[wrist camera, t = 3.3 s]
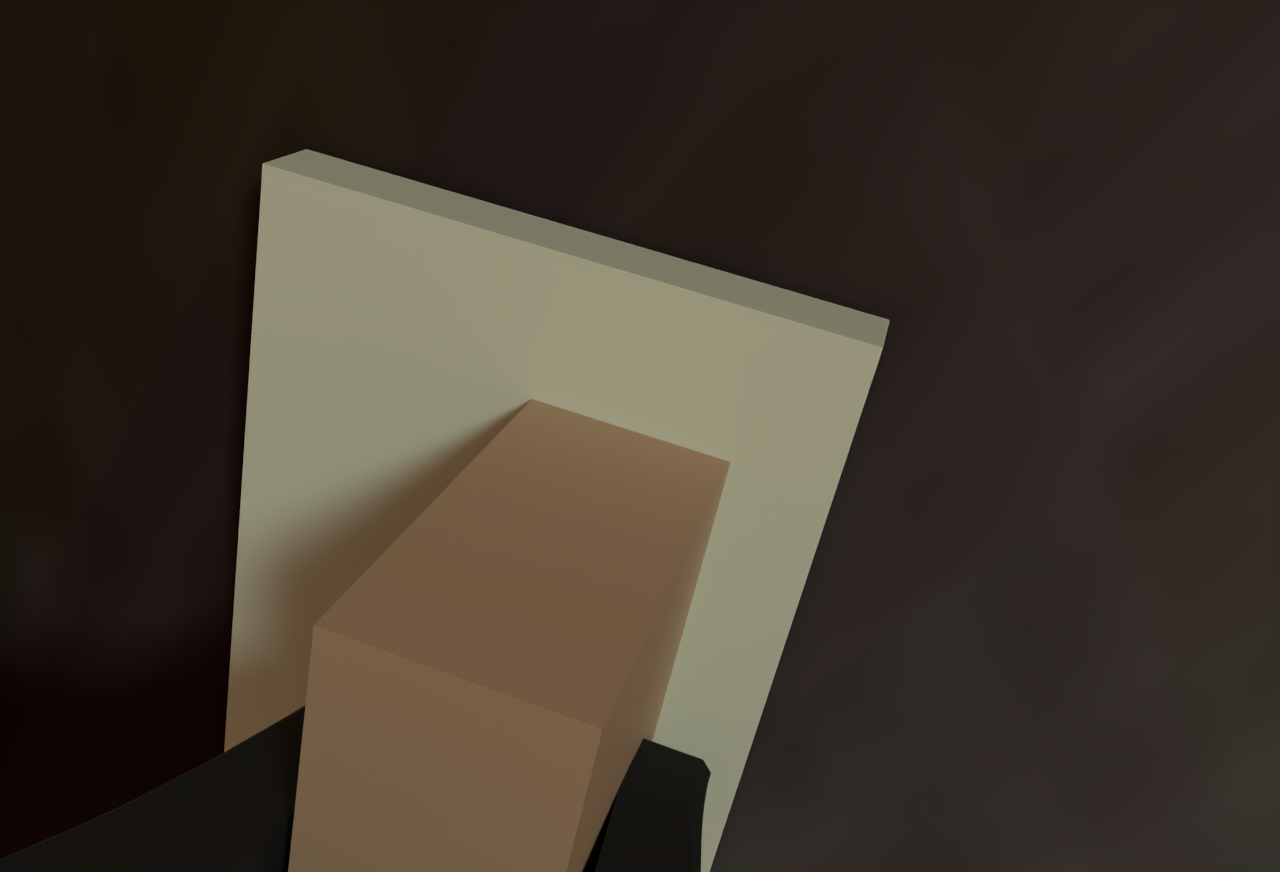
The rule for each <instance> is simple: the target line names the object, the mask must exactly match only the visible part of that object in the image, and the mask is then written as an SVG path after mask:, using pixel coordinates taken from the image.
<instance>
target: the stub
mask: <svg viewBox="0 0 1280 872" xmlns="http://www.w3.org/2000/svg"><path fill="white" fill-rule="evenodd" d="M889 321H890V320H888V319H885V318H881V317H878V316H874V315H871V314H867V313H864V312H861V311H857V310H854V309H850V308H847V307H844V306H840V305H837V304H833V303H830V302H826V301H823V300H820V299H816V298H813V297H809V296H806V295H803V294H799V293H796V292H792V291H789V290H786V289H782V288H779V287H775V286H772V285H768V284H765V283H762V282H758V281H755V280H751V279H748V278H745V277H741V276H738V275H734V274H731V273H727V272H724V271H721V270H717V269H714V268H710V267H707V266H704V265H700V264H697V263H693V262H690V261H687V260H683V259H680V258H676V257H673V256H669V255H666V254H663V253H659V252H656V251H652V250H649V249H646V248H642V247H639V246H635V245H632V244H628V243H625V242H622V241H618V240H615V239H611V238H608V237H605V236H601V235H598V234H594V233H591V232H587V231H584V230H581V229H577V228H574V227H570V226H567V225H564V224H560V223H557V222H553V221H550V220H547V219H543V218H540V217H536V216H533V215H529V214H526V213H523V212H519V211H516V210H512V209H509V208H506V207H502V206H499V205H495V204H492V203H488V202H485V201H482V200H478V199H475V198H471V197H468V196H465V195H461V194H458V193H454V192H451V191H448V190H444V189H441V188H437V187H434V186H430V185H427V184H424V183H420V182H417V181H413V180H410V179H407V178H403V177H400V176H396V175H393V174H389V173H386V172H383V171H379V170H376V169H372V168H369V167H366V166H362V165H359V164H355V163H352V162H349V161H345V160H342V159H338V158H335V157H331V156H328V155H325V154H321V153H318V152H314V151H311V150H308V149H306V150H303V151H300V152H297V153H294V154H291V155H288V156H284V157H281V158H278V159H275V160H272V161H269V162H266V163H263V167H262V183H261V198H260V213H259V229H258V244H257V259H256V274H255V290H254V305H253V320H252V335H251V351H250V366H249V381H248V396H247V412H246V427H245V442H244V458H243V473H242V488H241V503H240V519H239V534H238V549H237V564H236V580H235V595H234V610H233V625H232V641H231V656H230V671H229V686H228V702H227V717H226V732H225V748H224V752H226V751H227V750H229V749H231V748H232V747H234V746H236V745H238V744H239V743H241V742H243V741H245V740H246V739H248V738H250V737H252V736H253V735H255V734H257V733H259V732H260V731H262V730H264V729H266V728H267V727H269V726H271V725H272V724H274V723H276V722H278V721H279V720H281V719H283V718H285V717H286V716H288V715H289V714H291V713H293V712H294V711H296V710H298V709H299V708H301V707H303V706H304V705H305V715H304V724H303V734H302V743H301V753H300V763H299V772H298V782H297V791H296V801H295V811H294V820H293V830H292V839H291V849H290V859H289V868H288V872H595V869H596V865H597V862H598V858H599V855H600V851H601V848H602V845H603V841H604V838H605V834H606V831H607V827H608V824H609V820H610V817H611V814H612V810H613V807H614V803H615V800H616V796H617V793H618V790H619V787H620V785H621V783H622V780H623V778H624V776H625V774H626V772H627V770H628V768H629V766H630V764H631V762H632V760H633V758H634V756H635V754H636V752H637V750H638V748H639V746H640V744H641V742H642V740H643V738H644V739H647V740H650V741H653V742H655V743H658V744H661V745H664V746H667V747H669V748H672V749H675V750H678V751H681V752H683V753H686V754H689V755H692V756H695V757H697V758H700V759H703V760H704V762H705V763H706V765H707V767H708V768H709V770H710V772H711V775H710V778H709V782H708V786H707V792H706V798H705V804H704V813H703V825H702V842H701V872H709V871H710V868H711V865H712V862H713V859H714V856H715V853H716V850H717V847H718V844H719V841H720V838H721V835H722V832H723V829H724V826H725V823H726V820H727V817H728V814H729V811H730V808H731V805H732V802H733V799H734V796H735V793H736V790H737V787H738V784H739V781H740V778H741V775H742V772H743V769H744V766H745V763H746V760H747V757H748V754H749V751H750V748H751V745H752V742H753V739H754V736H755V732H756V729H757V726H758V723H759V720H760V717H761V714H762V711H763V708H764V705H765V702H766V699H767V696H768V693H769V690H770V687H771V684H772V681H773V678H774V675H775V672H776V669H777V666H778V663H779V660H780V657H781V654H782V651H783V648H784V645H785V642H786V639H787V636H788V633H789V630H790V627H791V624H792V621H793V618H794V615H795V612H796V609H797V606H798V603H799V600H800V597H801V594H802V591H803V588H804V585H805V582H806V579H807V575H808V572H809V569H810V566H811V563H812V560H813V557H814V554H815V551H816V548H817V545H818V542H819V539H820V536H821V533H822V530H823V527H824V524H825V521H826V518H827V515H828V512H829V509H830V506H831V503H832V500H833V497H834V494H835V491H836V488H837V485H838V482H839V479H840V476H841V473H842V470H843V467H844V464H845V461H846V458H847V455H848V452H849V449H850V446H851V443H852V440H853V437H854V434H855V431H856V428H857V425H858V421H859V418H860V415H861V412H862V409H863V406H864V403H865V400H866V397H867V394H868V391H869V388H870V385H871V382H872V379H873V376H874V373H875V370H876V367H877V364H878V361H879V358H880V355H881V352H882V349H883V345H884V341H885V337H886V333H887V329H888V325H889Z"/></svg>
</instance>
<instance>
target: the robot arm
mask: <svg viewBox="0 0 1280 872" xmlns="http://www.w3.org/2000/svg"><path fill="white" fill-rule="evenodd" d="M304 715H305V705H304V706H303V707H301V708H299V709H298V710H296V711H294V712H293V713H291V714H289V715H288V716H286V717H285V718H283V719H281V720H279V721H278V722H276V723H274V724H272V725H271V726H269V727H267V728H266V729H264V730H262V731H260V732H259V733H257V734H255V735H253V736H252V737H250V738H248V739H246V740H245V741H243V742H241V743H239V744H238V745H236V746H234V747H232V748H231V749H229V750H227V751H226V752H224V753H222V754H220V755H218V756H217V757H215V758H213V759H211V760H209V761H207V762H206V763H204V764H202V765H200V766H198V767H196V768H194V769H192V770H190V771H188V772H186V773H184V774H182V775H181V776H179V777H177V778H175V779H173V780H171V781H169V782H167V783H165V784H163V785H161V786H159V787H157V788H155V789H153V790H151V791H149V792H147V793H146V794H144V795H142V796H140V797H138V798H136V799H134V800H132V801H130V802H128V803H126V804H124V805H122V806H120V807H118V808H115V809H113V810H111V811H109V812H107V813H105V814H103V815H100V816H98V817H96V818H94V819H92V820H90V821H88V822H85V823H83V824H81V825H79V826H76V827H74V828H72V829H70V830H68V831H65V832H63V833H61V834H58V835H56V836H54V837H51V838H49V839H46V840H44V841H42V842H39V843H37V844H35V845H32V846H30V847H28V848H25V849H23V850H21V851H18V852H16V853H13V854H11V855H8V856H6V857H3V858H1V859H0V872H288V868H289V859H290V849H291V839H292V830H293V820H294V811H295V801H296V791H297V782H298V772H299V763H300V753H301V743H302V734H303V724H304ZM710 775H711V772H710V770H709V768H708V767H707V765H706V763H705V762H704V760H703V759H700V758H697V757H695V756H692V755H689V754H686V753H683V752H681V751H678V750H675V749H672V748H669V747H667V746H664V745H661V744H658V743H655V742H653V741H650V740H647V739H644V738H643V740H642V742H641V744H640V746H639V748H638V750H637V752H636V754H635V756H634V758H633V760H632V762H631V764H630V766H629V768H628V770H627V772H626V774H625V776H624V778H623V780H622V783H621V785H620V787H619V790H618V793H617V796H616V800H615V803H614V807H613V810H612V814H611V817H610V820H609V824H608V827H607V831H606V834H605V838H604V841H603V845H602V848H601V851H600V855H599V858H598V862H597V865H596V869H595V872H701V842H702V825H703V813H704V804H705V798H706V792H707V786H708V782H709V778H710Z"/></svg>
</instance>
